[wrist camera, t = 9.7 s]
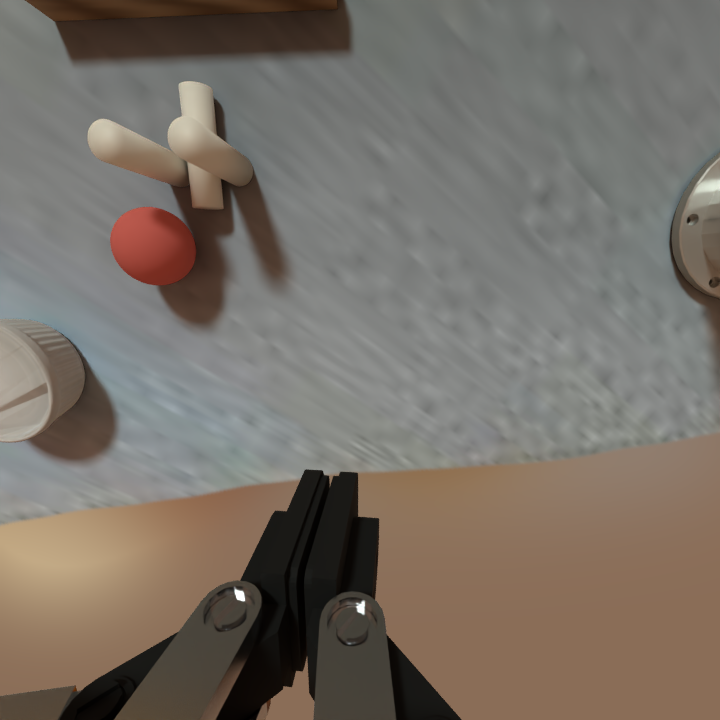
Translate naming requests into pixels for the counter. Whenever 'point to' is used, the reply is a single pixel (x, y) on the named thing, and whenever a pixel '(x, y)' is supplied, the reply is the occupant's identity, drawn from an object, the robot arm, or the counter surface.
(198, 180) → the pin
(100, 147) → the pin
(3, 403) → the ramekin
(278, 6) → the walnut rail
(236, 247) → the counter surface
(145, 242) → the ball
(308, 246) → the counter surface
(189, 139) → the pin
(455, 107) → the counter surface
